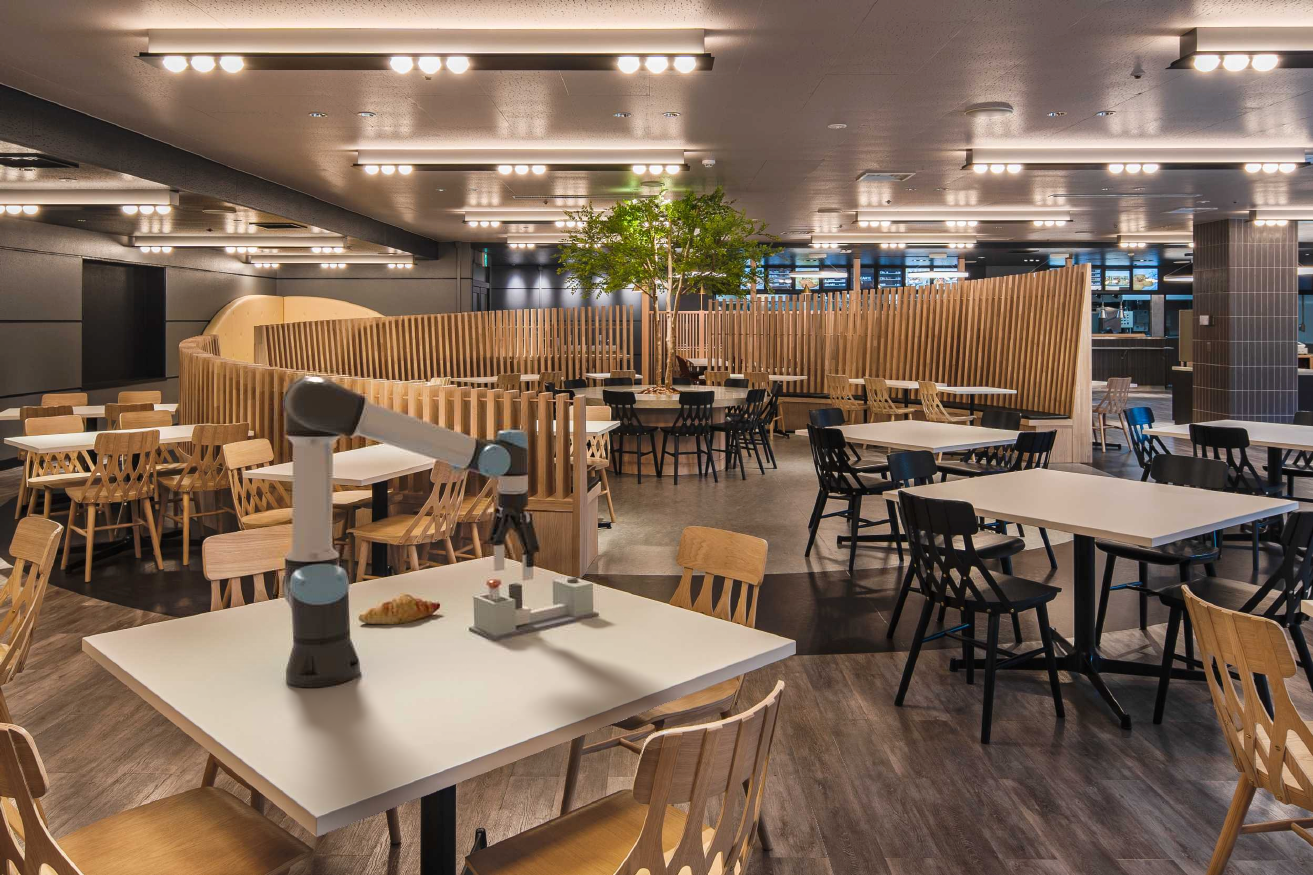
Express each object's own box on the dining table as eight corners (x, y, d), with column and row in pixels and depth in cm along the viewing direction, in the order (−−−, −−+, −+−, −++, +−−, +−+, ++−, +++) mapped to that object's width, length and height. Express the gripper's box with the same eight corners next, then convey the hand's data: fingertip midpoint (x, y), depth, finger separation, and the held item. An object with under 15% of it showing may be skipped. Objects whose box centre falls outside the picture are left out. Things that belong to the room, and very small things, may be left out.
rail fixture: (493, 641, 221) (492, 602, 220) (468, 630, 230) (467, 593, 230) (598, 615, 242) (598, 580, 241) (572, 606, 251) (571, 572, 250)
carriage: (514, 626, 228) (513, 588, 228) (501, 621, 233) (500, 584, 232) (531, 622, 232) (530, 585, 231) (518, 617, 236) (517, 580, 235)
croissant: (362, 641, 234) (363, 618, 230) (354, 614, 241) (355, 592, 237) (443, 627, 244) (446, 604, 240) (433, 602, 251) (435, 579, 247)
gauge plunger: (492, 618, 226) (491, 583, 225) (484, 615, 228) (483, 580, 227) (504, 615, 228) (503, 581, 227) (497, 612, 231) (496, 578, 230)
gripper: (553, 495, 222) (553, 581, 224) (499, 485, 241) (500, 564, 243) (527, 498, 218) (527, 586, 219) (474, 487, 236) (475, 568, 238)
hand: (513, 574), depth 231 cm, fingers open, 13 cm apart
